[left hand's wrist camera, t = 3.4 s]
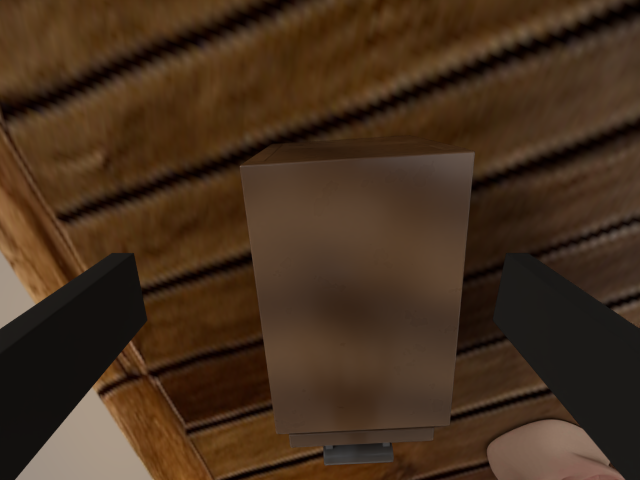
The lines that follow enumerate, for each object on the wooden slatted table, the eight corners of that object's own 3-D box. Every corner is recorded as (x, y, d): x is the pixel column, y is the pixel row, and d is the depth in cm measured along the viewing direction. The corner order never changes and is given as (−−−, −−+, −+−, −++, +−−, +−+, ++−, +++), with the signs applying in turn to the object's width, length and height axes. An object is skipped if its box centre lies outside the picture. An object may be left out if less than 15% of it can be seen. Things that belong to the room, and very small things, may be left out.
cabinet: (405, 320, 33) (449, 426, 22) (290, 326, 33) (276, 434, 22) (410, 135, 27) (475, 150, 16) (271, 144, 28) (239, 165, 16)
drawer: (399, 397, 35) (429, 500, 26) (302, 402, 35) (297, 506, 26) (404, 186, 28) (449, 223, 18) (282, 193, 28) (264, 234, 19)
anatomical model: (483, 493, 36) (577, 430, 33) (468, 457, 39) (551, 397, 36) (560, 546, 39) (652, 492, 36) (539, 508, 42) (621, 456, 39)
